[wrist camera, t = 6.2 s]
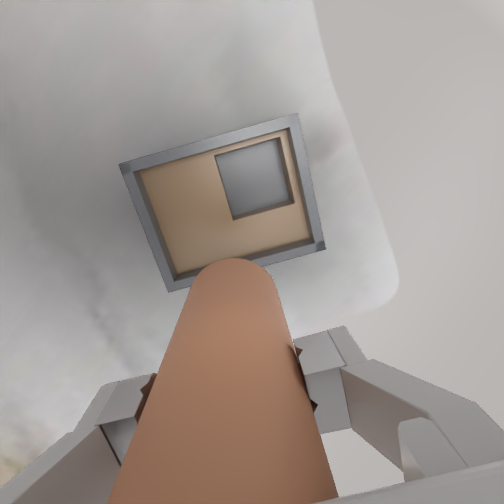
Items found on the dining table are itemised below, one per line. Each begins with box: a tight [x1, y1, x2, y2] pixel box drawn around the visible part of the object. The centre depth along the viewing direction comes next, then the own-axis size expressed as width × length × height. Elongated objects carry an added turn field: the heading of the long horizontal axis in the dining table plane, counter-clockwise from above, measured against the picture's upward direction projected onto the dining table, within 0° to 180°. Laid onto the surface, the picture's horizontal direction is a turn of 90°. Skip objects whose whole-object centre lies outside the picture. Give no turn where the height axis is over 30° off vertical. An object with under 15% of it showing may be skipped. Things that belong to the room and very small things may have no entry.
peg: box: [107, 258, 339, 504], centre depth 9 cm, size 4×4×10 cm
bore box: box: [118, 113, 326, 293], centre depth 26 cm, size 14×11×5 cm
